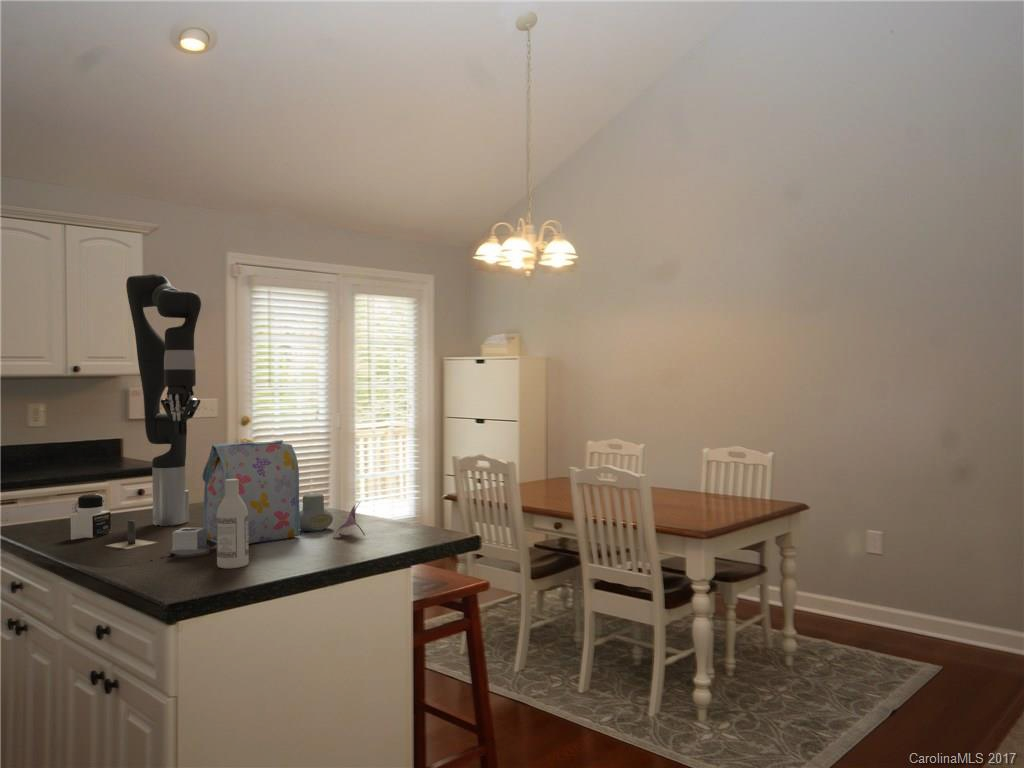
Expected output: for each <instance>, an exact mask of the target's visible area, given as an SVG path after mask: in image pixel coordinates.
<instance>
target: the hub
mask: <svg viewBox="0 0 1024 768" xmlns="http://www.w3.org/2000/svg"><path fill="white" fill-rule="evenodd" d="M169 551H170V553H171V554H169V555H170V556H169V557H171V558H176V559H187V558H189V557H190V558H197V557H202V556H205V555H208V554H209V553H210V545H209V544H206V546H204V547H202V548H200V549H199V550H180V551H173V547H171V548H170V550H169Z"/></svg>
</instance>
